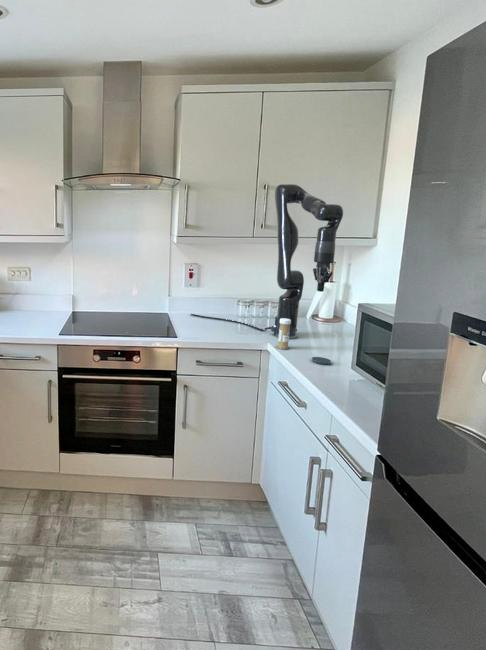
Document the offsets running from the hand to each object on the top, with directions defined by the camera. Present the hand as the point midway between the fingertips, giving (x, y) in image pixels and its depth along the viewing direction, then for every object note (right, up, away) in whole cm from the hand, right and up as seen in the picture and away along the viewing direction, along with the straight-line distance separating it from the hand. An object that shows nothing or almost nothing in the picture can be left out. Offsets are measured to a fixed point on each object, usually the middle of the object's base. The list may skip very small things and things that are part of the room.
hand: (320, 291), depth 182 cm
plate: (-6, -29, -11) cm, 32 cm away
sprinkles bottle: (-13, -26, +8) cm, 30 cm away
